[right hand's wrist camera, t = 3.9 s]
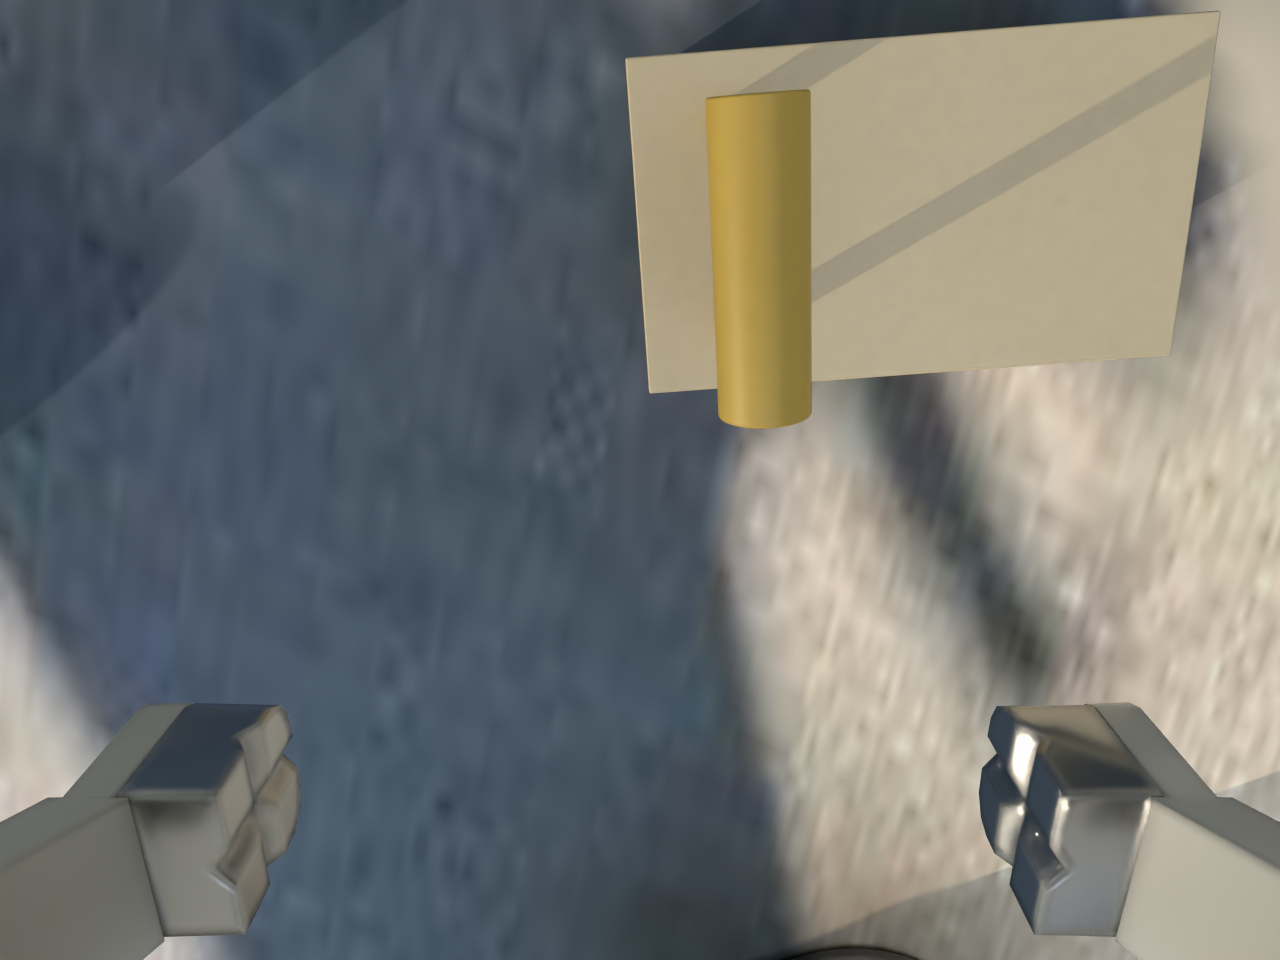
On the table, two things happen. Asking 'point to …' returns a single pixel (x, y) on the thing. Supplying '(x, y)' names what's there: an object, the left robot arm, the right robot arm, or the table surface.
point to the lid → (914, 204)
